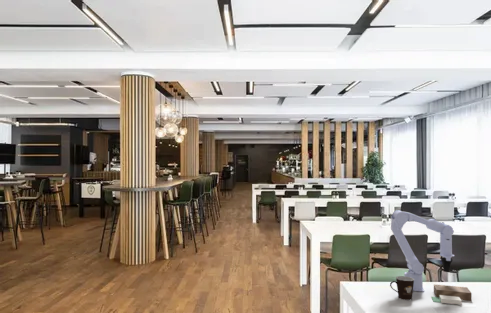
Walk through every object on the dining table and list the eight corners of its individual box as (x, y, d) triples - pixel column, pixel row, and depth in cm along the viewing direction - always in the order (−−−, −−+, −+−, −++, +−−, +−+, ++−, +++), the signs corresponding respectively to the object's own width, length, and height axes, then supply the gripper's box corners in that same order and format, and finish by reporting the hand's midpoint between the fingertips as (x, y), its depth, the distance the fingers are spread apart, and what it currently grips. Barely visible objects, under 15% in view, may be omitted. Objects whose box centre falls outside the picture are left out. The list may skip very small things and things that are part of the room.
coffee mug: (413, 296, 202) (413, 277, 202) (415, 301, 194) (414, 281, 194) (389, 294, 206) (389, 275, 206) (390, 299, 197) (390, 279, 198)
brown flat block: (436, 297, 200) (436, 289, 200) (433, 291, 210) (433, 284, 210) (471, 301, 195) (471, 292, 195) (467, 295, 205) (467, 287, 205)
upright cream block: (439, 294, 197) (439, 298, 197) (441, 298, 192) (441, 302, 192) (459, 296, 194) (459, 300, 194) (461, 300, 189) (461, 304, 189)
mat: (433, 301, 194) (433, 301, 194) (431, 297, 201) (431, 296, 201) (458, 304, 190) (458, 303, 190) (455, 299, 197) (455, 298, 197)
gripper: (456, 249, 205) (457, 275, 205) (451, 244, 219) (452, 268, 218) (442, 248, 207) (442, 274, 207) (437, 243, 221) (438, 267, 221)
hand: (446, 271), depth 213 cm, fingers closed
